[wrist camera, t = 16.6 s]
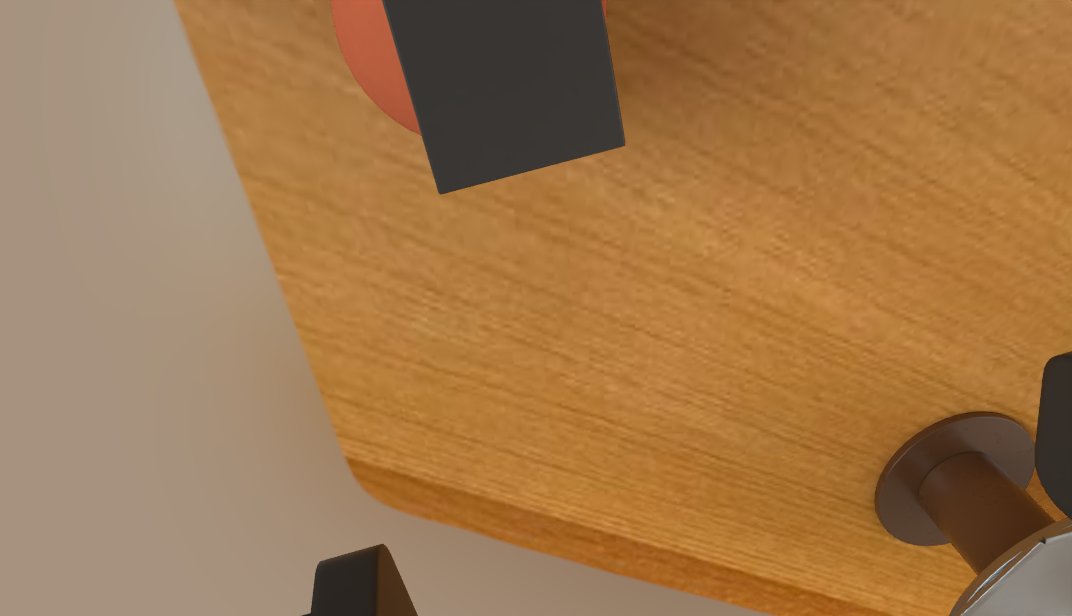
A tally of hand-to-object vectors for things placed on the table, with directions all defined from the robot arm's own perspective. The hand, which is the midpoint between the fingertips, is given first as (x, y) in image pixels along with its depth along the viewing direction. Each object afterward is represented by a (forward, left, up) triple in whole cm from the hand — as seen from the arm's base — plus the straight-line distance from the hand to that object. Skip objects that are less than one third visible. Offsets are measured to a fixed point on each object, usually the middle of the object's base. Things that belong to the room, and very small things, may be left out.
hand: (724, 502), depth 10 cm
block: (-1, +3, -17) cm, 17 cm away
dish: (+21, -31, -27) cm, 46 cm away
